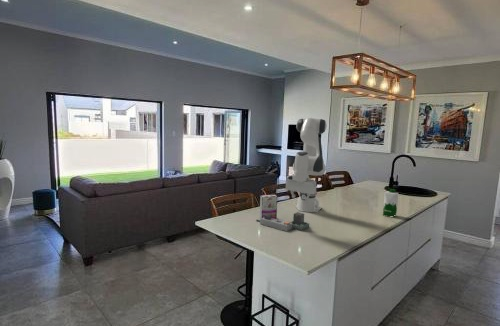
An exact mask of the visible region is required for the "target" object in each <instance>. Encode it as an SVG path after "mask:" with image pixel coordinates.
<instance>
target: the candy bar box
mask: <svg viewBox="0 0 500 326" xmlns="http://www.w3.org/2000/svg"><path fill="white" fill-rule="evenodd" d="M259 200H260V201H259V205H260V206H259V220H260V219H261V218H264V216H265V215H270V216H271V218H274V219H278V218H277V217H278V216H277V214H278V195H276V194H262V195H260V199H259Z"/></svg>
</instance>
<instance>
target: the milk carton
mask: <svg viewBox="0 0 500 326" xmlns="http://www.w3.org/2000/svg"><path fill="white" fill-rule="evenodd" d="M383 196H384V200H383V209H382V210H383V211H382V216H384V215H388V216H394V215H396V216H397V211H398V210H397V209H398V201H399V192H396V189H394V188H390V189H389V190H387V191H385V192H384V195H383ZM388 216H387V217H388ZM394 217H395V216H394Z"/></svg>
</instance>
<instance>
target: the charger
mask: <svg viewBox="0 0 500 326" xmlns="http://www.w3.org/2000/svg"><path fill="white" fill-rule="evenodd" d="M292 221H293V223H296V225H298V226H301V224H302V223H304V222H305V213H304V212H299V211H296V212H294V213H293V220H292Z"/></svg>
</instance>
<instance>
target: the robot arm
mask: <svg viewBox="0 0 500 326" xmlns="http://www.w3.org/2000/svg"><path fill="white" fill-rule="evenodd" d="M295 125H296V127H295V128H296V130H297V132H299V133H300V134H299V135H300V139H301V141H302V142H303V147H302V149H303V150H302V151H298V152H296V154H295V157H294V158H295V159H294V161H293V164H292V170H293V172H294V173H293V174H289V175H287V176H286V181H285V189H286V190H287V191H290V194H291V198H293V199H295V198H296V194H295V193H294V192H297V193H299V197H298V198H297V204H296V206H295V208H296V209H297V210H298V211H300V212H306V213H318V212H319V211H320V210H322V206H320V201H319V200H318V198H317V197H316V195H317V194H318V192H317V181H316V180H315V179H312V178H310V176H316V177H317V176H323V175H324V174H325V173H326V171H327V166H326V164H325V161H324V159H323V157H324V156H323V147H322V140H321V138H320V135H322V134H324V133H325V132H326V130H327V127H328V125H327V121H326V120H325V119H322V118H312V117H307V118H299V119H298V120H297V121H296V124H295Z"/></svg>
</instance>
